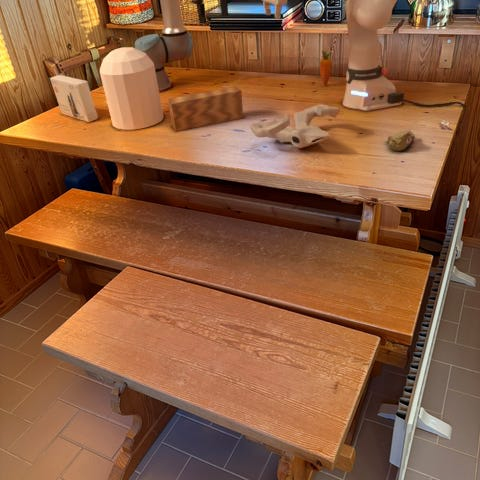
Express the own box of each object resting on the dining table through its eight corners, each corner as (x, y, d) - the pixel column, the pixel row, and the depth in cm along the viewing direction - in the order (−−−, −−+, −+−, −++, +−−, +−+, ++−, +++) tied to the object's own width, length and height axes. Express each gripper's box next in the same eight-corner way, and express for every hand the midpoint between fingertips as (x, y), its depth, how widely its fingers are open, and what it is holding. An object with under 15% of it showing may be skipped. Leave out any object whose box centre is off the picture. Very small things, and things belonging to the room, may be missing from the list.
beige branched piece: (248, 155, 150) (245, 120, 144) (261, 127, 172) (259, 95, 165) (336, 156, 144) (338, 119, 138) (338, 126, 166) (340, 93, 159)
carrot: (331, 83, 206) (332, 48, 198) (329, 87, 202) (330, 51, 194) (320, 83, 208) (321, 48, 199) (318, 87, 204) (319, 51, 195)
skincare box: (60, 114, 202) (49, 77, 193) (71, 110, 206) (60, 74, 196) (87, 122, 190) (77, 83, 181) (98, 118, 194) (88, 80, 184)
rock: (408, 140, 153) (379, 139, 152) (414, 122, 149) (384, 120, 148) (421, 154, 144) (391, 153, 143) (428, 135, 140) (396, 133, 139)
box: (176, 131, 175) (171, 103, 169) (172, 126, 180) (168, 99, 174) (243, 117, 181) (241, 90, 175) (238, 112, 186) (236, 86, 180)
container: (119, 134, 177) (100, 57, 161) (107, 118, 193) (89, 47, 177) (170, 121, 183) (157, 47, 167) (155, 107, 199) (142, 38, 184)
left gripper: (192, -44, 150) (201, 27, 162) (236, -51, 166) (241, 13, 178) (175, -43, 154) (185, 26, 166) (220, -50, 170) (225, 13, 182)
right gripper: (291, -28, 148) (292, 19, 155) (269, -31, 164) (271, 11, 172) (273, -26, 146) (274, 22, 154) (252, -29, 163) (255, 14, 170)
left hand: (214, 20), depth 172 cm, fingers open, 13 cm apart
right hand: (272, 16), depth 163 cm, fingers open, 8 cm apart
